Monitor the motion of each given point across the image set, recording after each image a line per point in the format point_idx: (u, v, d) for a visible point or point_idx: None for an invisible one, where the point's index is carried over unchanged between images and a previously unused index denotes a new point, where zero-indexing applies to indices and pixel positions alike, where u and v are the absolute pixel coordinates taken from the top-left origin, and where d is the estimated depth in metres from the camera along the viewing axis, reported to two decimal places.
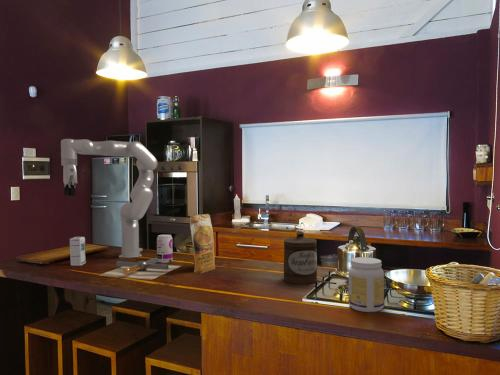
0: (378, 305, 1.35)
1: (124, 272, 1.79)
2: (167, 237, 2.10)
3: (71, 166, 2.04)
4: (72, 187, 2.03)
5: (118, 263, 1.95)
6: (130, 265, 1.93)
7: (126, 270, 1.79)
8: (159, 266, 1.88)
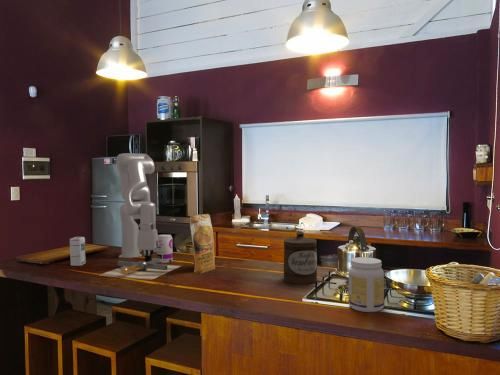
0: (378, 305, 1.35)
1: (122, 272, 1.79)
2: (167, 237, 2.10)
3: None
4: None
5: (119, 262, 1.96)
6: (130, 265, 1.94)
7: (124, 270, 1.79)
8: (158, 266, 1.88)
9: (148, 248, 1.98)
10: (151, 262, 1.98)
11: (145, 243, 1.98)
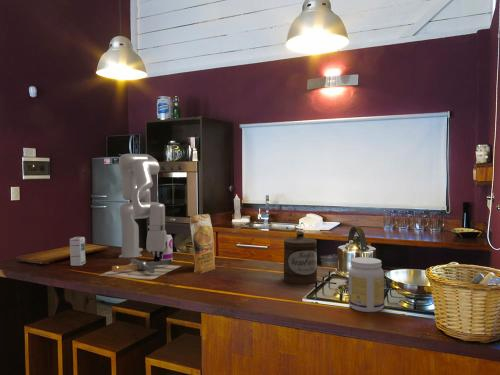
0: (378, 305, 1.35)
1: (112, 269, 1.84)
2: (167, 237, 2.10)
3: None
4: None
5: (131, 260, 2.02)
6: (136, 263, 1.96)
7: (113, 268, 1.84)
8: (147, 268, 1.83)
9: (157, 249, 1.96)
10: (155, 263, 1.95)
11: (154, 244, 1.97)
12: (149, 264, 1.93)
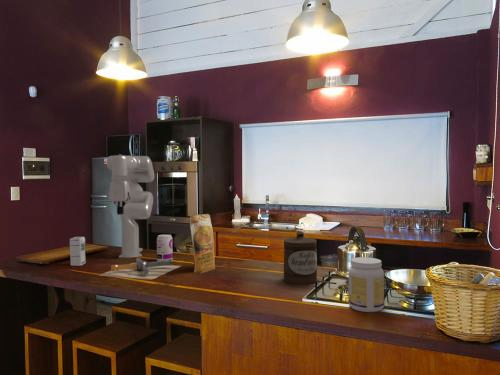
0: (378, 305, 1.35)
1: (111, 268, 1.87)
2: (167, 237, 2.10)
3: None
4: None
5: (136, 259, 2.04)
6: None
7: (112, 267, 1.86)
8: (143, 269, 1.82)
9: (120, 199, 2.03)
10: (155, 264, 1.94)
11: (117, 194, 2.04)
12: (149, 264, 1.93)
